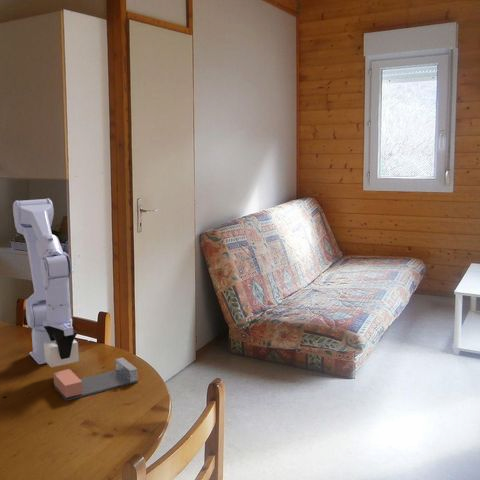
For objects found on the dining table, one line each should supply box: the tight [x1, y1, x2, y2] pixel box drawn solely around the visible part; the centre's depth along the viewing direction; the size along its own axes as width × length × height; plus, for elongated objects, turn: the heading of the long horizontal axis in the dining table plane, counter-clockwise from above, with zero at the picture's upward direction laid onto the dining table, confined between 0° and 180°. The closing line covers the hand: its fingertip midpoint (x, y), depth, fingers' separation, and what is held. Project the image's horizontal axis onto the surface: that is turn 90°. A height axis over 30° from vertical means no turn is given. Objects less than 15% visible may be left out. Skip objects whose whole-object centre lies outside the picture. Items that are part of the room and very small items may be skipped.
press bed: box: [53, 357, 139, 402], centre depth 144 cm, size 9×18×4 cm, turn 124°
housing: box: [44, 339, 80, 368], centre depth 149 cm, size 5×7×5 cm
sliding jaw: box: [52, 368, 83, 398], centre depth 140 cm, size 9×4×3 cm, turn 34°
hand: (61, 354), depth 149 cm, fingers closed on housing, 5 cm apart
